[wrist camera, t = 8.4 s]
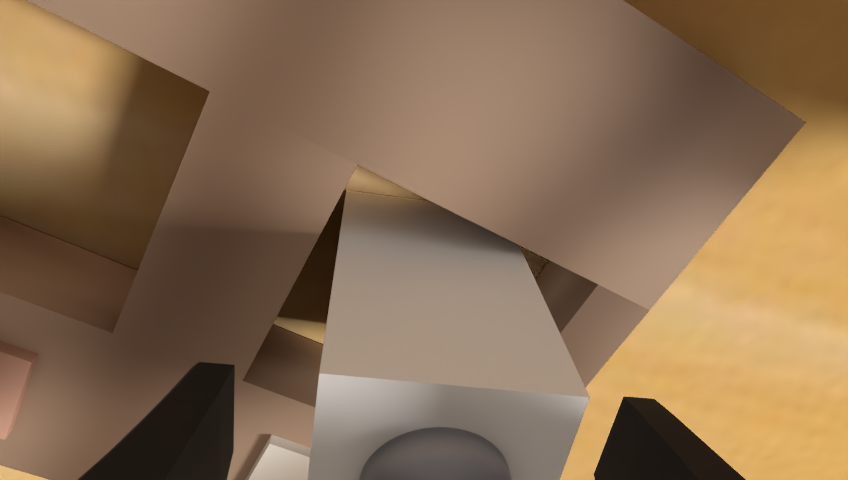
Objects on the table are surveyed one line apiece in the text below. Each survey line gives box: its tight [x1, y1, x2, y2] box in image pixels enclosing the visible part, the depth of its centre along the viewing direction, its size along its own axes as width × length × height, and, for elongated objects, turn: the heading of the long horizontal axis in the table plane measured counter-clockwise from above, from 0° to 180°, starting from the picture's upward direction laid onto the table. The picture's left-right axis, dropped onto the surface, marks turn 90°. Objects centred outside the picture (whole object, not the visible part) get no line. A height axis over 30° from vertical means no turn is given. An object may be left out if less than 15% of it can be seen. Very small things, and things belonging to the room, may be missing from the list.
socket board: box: [0, 0, 806, 480], centre depth 13 cm, size 18×16×3 cm
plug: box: [307, 190, 590, 480], centre depth 12 cm, size 4×4×8 cm
